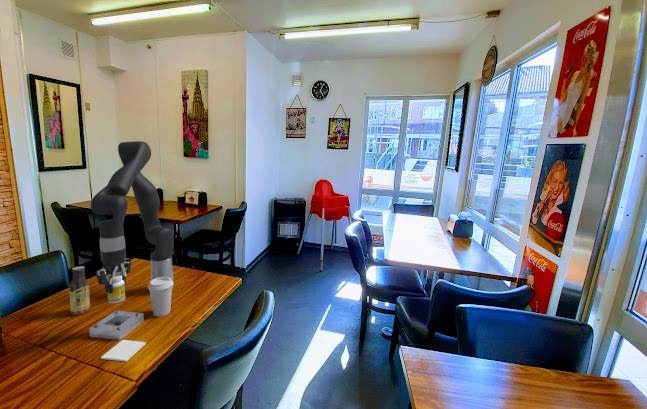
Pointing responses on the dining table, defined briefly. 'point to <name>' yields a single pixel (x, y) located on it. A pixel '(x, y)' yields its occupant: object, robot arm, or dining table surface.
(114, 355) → the mat
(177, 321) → the dining table surface
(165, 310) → the coffee cup
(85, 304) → the sauce bottle
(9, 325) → the dining table surface
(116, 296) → the supplement bottle
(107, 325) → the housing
